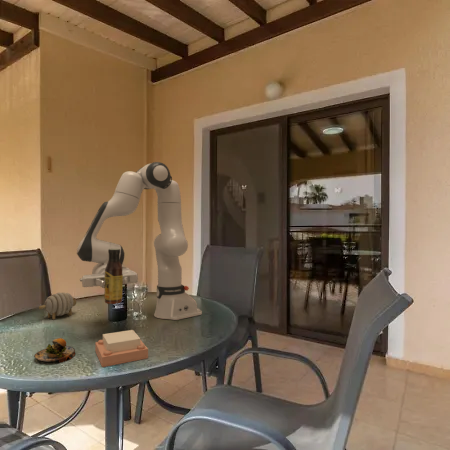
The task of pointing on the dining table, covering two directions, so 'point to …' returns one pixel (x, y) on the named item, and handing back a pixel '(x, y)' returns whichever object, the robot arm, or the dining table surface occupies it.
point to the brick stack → (120, 348)
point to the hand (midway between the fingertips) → (114, 282)
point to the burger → (56, 352)
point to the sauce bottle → (113, 278)
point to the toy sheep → (59, 304)
